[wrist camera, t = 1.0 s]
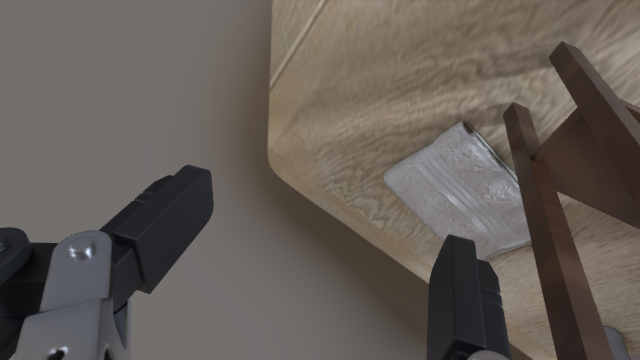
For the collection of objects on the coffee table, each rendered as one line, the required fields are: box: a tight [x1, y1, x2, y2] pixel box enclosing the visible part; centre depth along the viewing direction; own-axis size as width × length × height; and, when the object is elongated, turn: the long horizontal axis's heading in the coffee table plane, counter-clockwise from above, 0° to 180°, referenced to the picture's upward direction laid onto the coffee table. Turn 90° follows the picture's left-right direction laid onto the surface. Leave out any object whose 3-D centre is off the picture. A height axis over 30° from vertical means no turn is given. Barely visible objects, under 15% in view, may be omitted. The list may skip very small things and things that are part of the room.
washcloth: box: [383, 121, 532, 261], centre depth 43 cm, size 12×18×3 cm, turn 49°
